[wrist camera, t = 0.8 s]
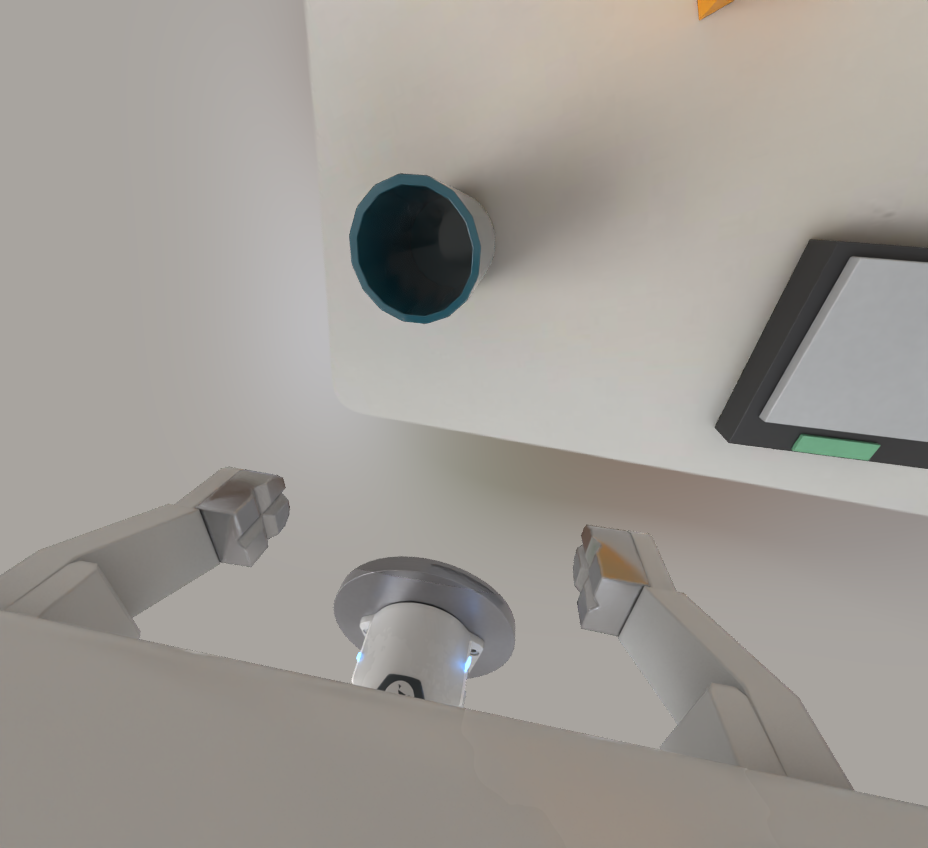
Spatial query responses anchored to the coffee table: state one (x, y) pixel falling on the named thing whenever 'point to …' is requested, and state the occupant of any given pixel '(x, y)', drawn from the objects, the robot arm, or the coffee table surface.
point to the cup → (420, 247)
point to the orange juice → (710, 6)
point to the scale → (841, 359)
